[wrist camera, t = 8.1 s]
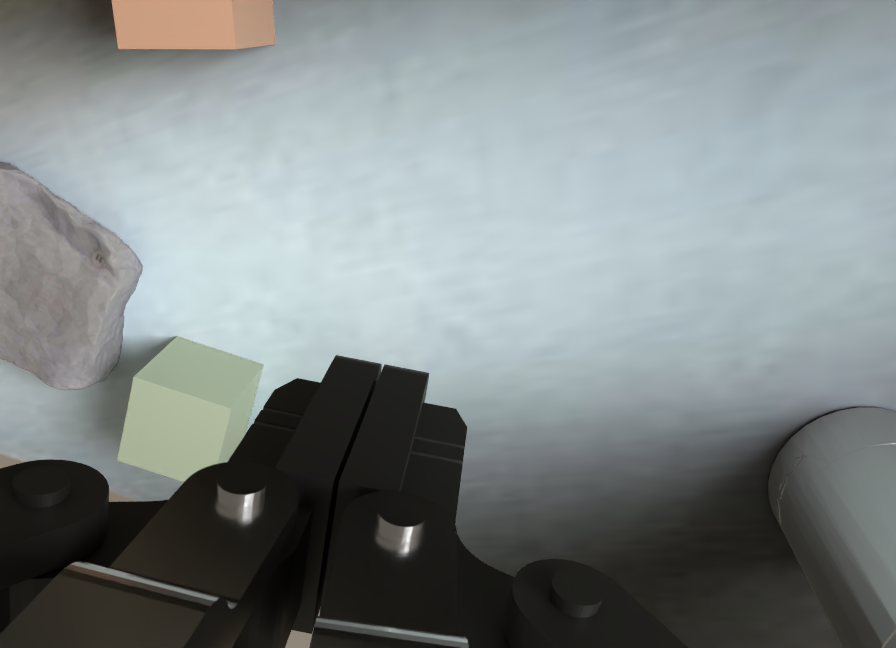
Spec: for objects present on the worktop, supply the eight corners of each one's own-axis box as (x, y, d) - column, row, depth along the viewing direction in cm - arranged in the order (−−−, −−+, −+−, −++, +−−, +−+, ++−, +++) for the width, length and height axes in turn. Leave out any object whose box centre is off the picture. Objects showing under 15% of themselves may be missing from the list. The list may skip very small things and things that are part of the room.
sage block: (263, 364, 45) (231, 408, 40) (244, 438, 47) (210, 490, 42) (177, 335, 45) (133, 376, 40) (161, 411, 47) (117, 460, 42)
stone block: (-32, 133, 44) (-89, 301, 45) (-86, 130, 39) (-148, 317, 41) (177, 225, 45) (115, 384, 47) (149, 231, 40) (81, 409, 42)
